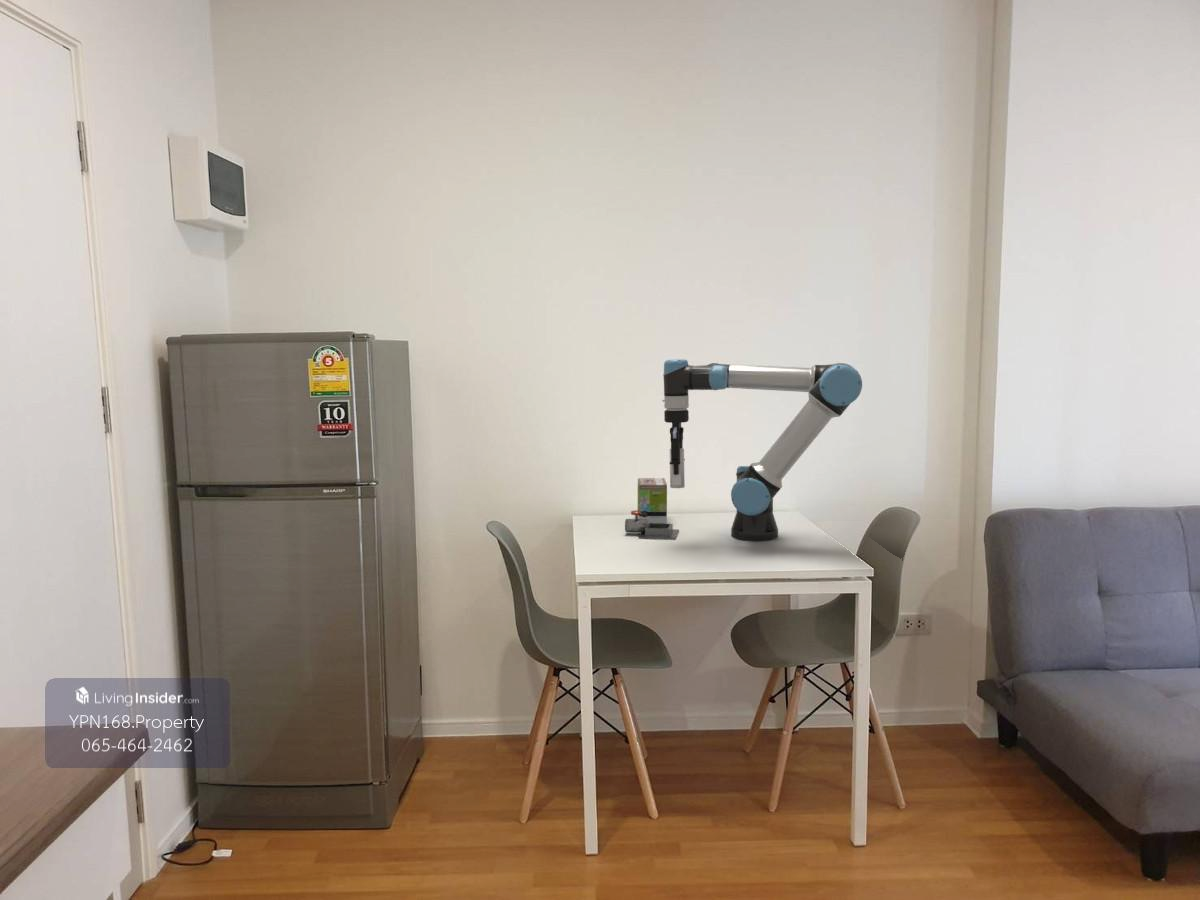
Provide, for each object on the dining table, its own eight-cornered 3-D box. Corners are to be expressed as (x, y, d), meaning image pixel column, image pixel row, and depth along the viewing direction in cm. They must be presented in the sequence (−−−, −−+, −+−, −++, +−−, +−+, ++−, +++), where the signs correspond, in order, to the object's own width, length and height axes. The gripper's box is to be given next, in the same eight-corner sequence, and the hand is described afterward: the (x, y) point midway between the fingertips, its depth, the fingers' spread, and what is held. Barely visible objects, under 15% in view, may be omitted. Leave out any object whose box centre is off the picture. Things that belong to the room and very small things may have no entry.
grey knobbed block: (679, 531, 287) (679, 508, 286) (675, 539, 275) (675, 516, 274) (629, 529, 290) (628, 507, 289) (623, 538, 279) (622, 515, 278)
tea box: (667, 526, 295) (667, 484, 293) (638, 526, 295) (638, 484, 293) (665, 517, 310) (664, 476, 308) (637, 517, 310) (636, 477, 308)
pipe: (685, 485, 271) (684, 448, 269) (683, 488, 266) (683, 450, 265) (671, 485, 272) (670, 448, 270) (669, 488, 267) (668, 450, 266)
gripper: (667, 407, 275) (668, 478, 278) (660, 412, 258) (662, 488, 261) (690, 406, 273) (691, 478, 276) (685, 411, 256) (686, 488, 259)
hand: (677, 483), depth 269 cm, fingers closed on pipe, 4 cm apart
